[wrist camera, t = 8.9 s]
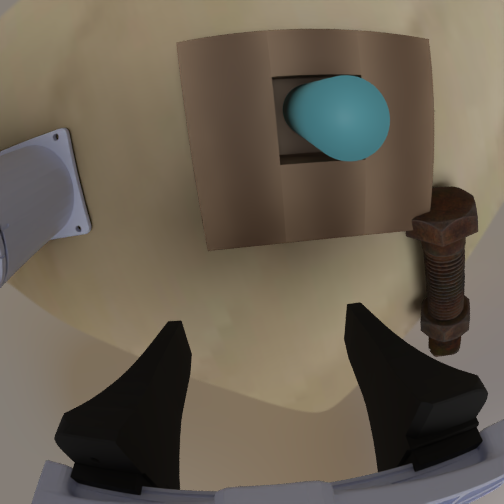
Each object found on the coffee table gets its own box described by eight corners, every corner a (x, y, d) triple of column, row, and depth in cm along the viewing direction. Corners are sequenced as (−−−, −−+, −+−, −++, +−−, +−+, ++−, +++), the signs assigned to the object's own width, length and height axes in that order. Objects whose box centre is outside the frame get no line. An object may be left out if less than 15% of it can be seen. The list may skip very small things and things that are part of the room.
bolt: (422, 324, 28) (406, 187, 22) (469, 324, 26) (469, 181, 19) (415, 372, 25) (401, 228, 18) (467, 373, 22) (480, 222, 15)
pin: (288, 141, 19) (314, 168, 12) (277, 88, 18) (297, 81, 10) (341, 132, 19) (394, 154, 12) (331, 80, 17) (382, 71, 10)
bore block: (213, 227, 22) (207, 250, 19) (187, 51, 17) (176, 42, 14) (405, 209, 22) (428, 228, 19) (403, 45, 16) (428, 39, 13)
